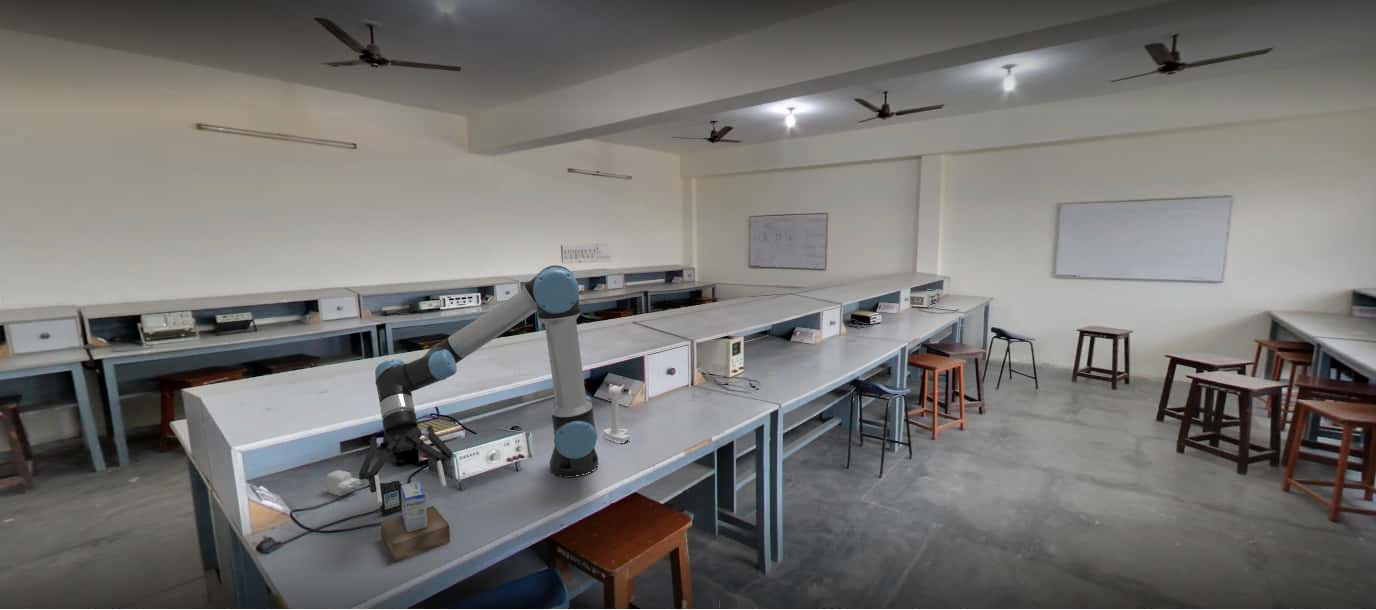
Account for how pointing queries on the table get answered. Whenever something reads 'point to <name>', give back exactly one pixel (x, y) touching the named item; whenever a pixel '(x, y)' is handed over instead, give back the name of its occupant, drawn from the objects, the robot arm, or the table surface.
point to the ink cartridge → (391, 498)
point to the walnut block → (414, 535)
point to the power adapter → (341, 483)
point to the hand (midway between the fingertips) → (413, 495)
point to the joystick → (615, 418)
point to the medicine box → (413, 506)
